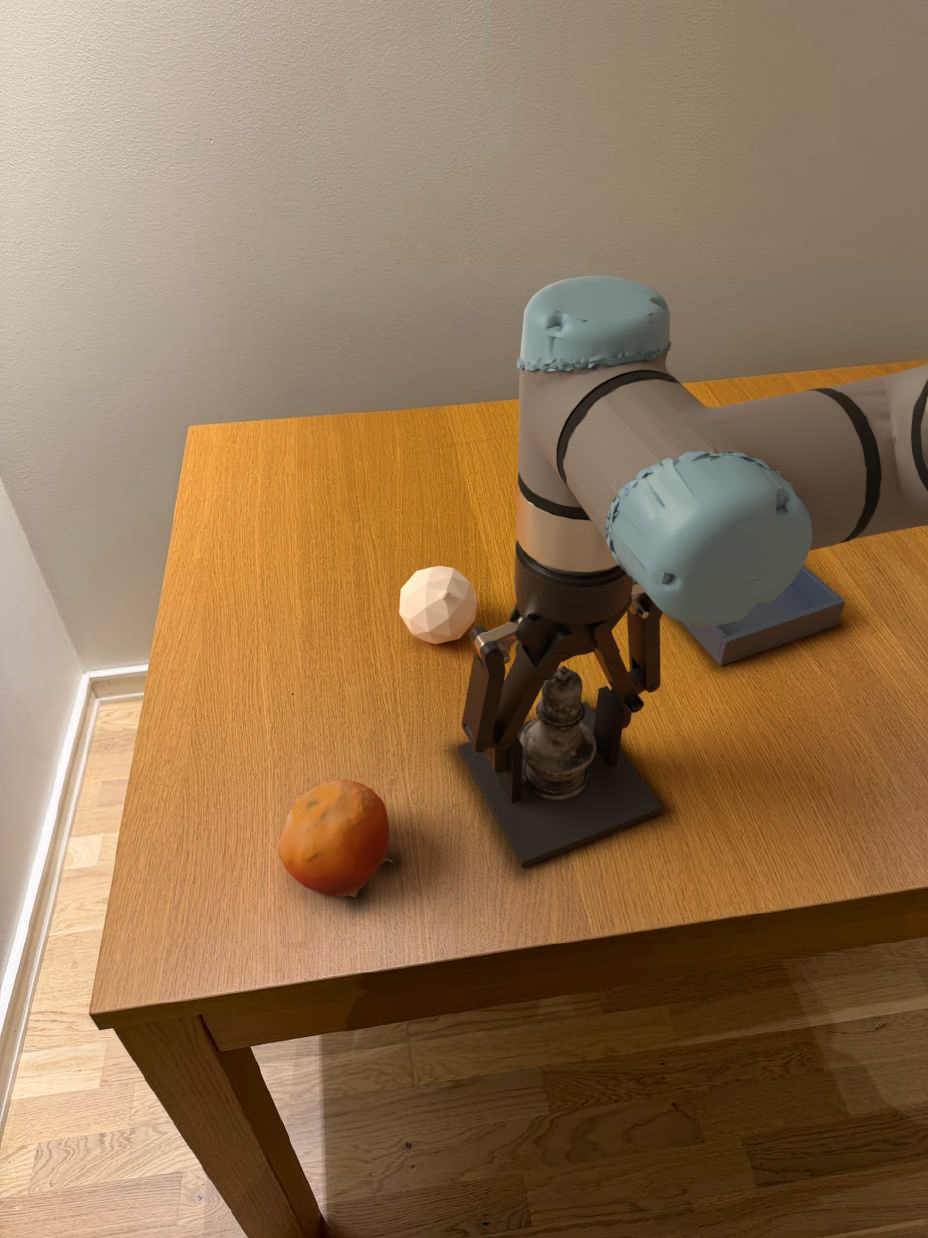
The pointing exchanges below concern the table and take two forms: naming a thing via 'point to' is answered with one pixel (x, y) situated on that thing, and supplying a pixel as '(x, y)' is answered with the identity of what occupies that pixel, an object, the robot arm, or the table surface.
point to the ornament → (438, 604)
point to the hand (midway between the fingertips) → (557, 771)
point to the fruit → (335, 838)
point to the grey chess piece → (558, 740)
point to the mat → (564, 804)
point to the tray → (774, 620)
